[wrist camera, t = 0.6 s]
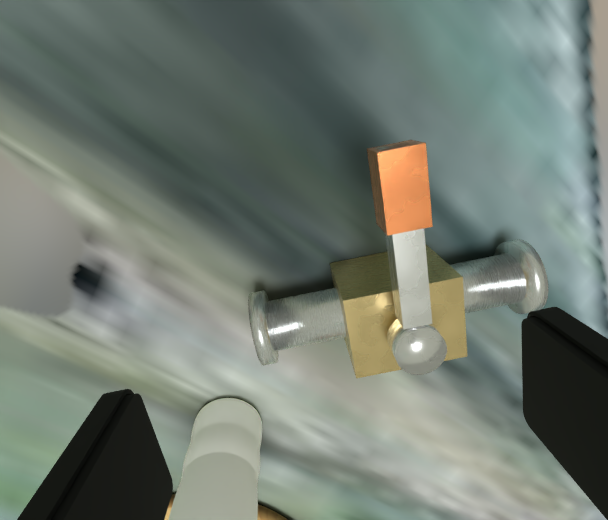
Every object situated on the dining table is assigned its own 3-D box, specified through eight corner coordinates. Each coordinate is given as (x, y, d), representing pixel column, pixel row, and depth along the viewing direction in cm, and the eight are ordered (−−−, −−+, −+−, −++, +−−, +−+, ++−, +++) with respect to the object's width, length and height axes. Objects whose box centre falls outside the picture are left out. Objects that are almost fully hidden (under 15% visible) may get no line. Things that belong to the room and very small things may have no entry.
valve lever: (360, 149, 25) (370, 154, 23) (416, 138, 25) (432, 141, 23) (389, 358, 31) (399, 381, 28) (435, 349, 31) (449, 371, 28)
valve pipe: (250, 278, 37) (242, 324, 29) (505, 227, 37) (568, 259, 29) (266, 342, 40) (264, 401, 31) (506, 295, 39) (564, 341, 31)
